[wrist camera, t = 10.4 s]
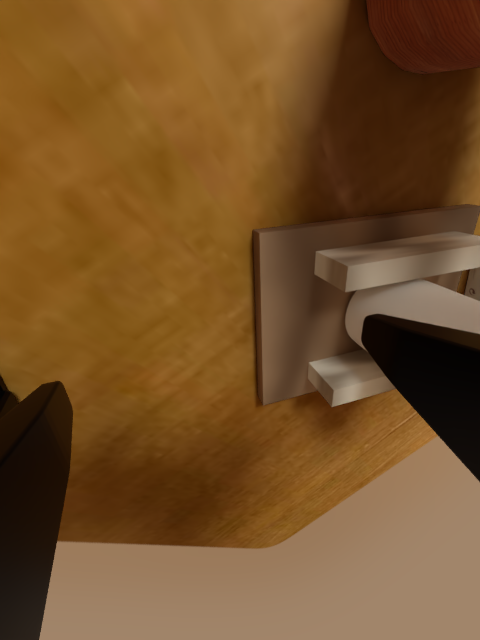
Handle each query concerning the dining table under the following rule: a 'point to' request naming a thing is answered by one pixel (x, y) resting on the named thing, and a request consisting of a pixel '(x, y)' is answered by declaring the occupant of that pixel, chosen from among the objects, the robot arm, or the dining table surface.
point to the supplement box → (473, 284)
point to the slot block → (344, 292)
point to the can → (413, 306)
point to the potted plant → (427, 33)
